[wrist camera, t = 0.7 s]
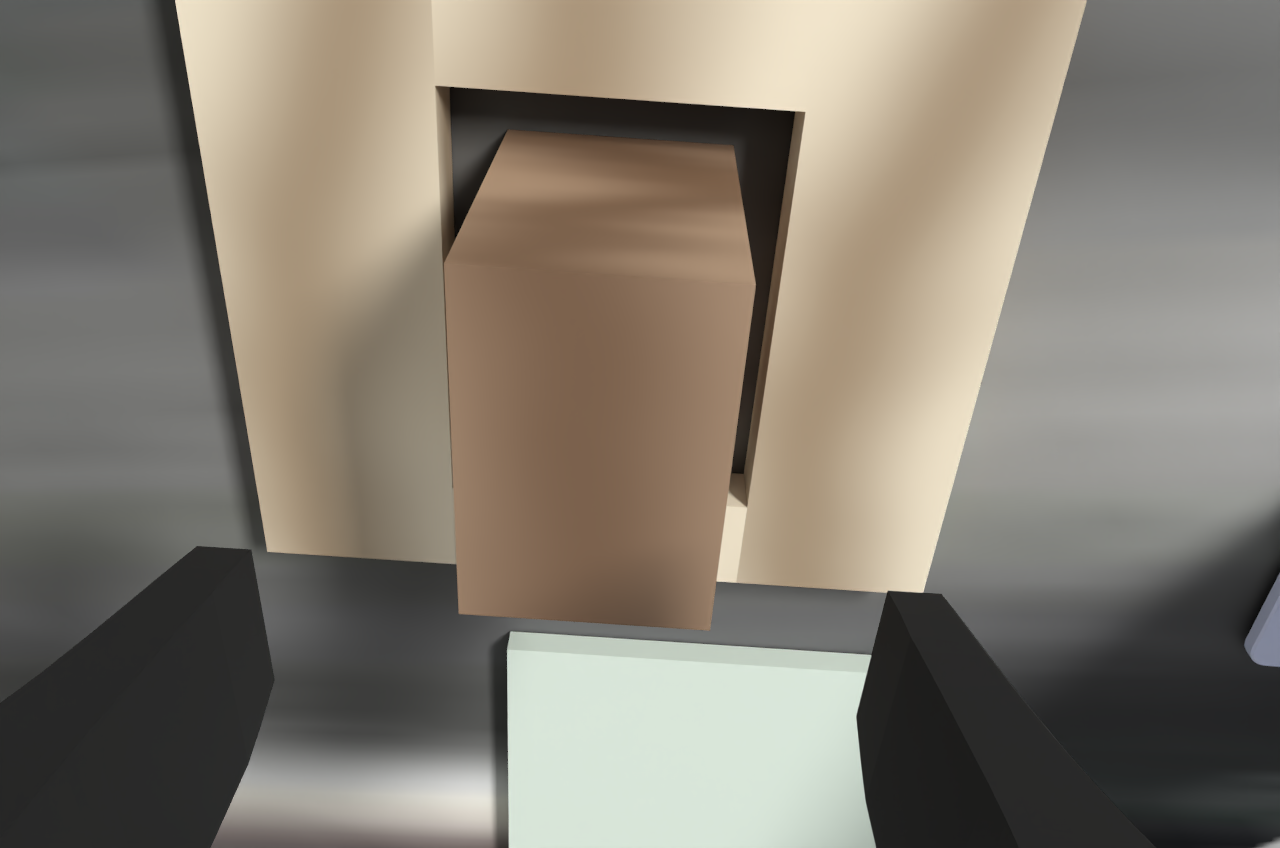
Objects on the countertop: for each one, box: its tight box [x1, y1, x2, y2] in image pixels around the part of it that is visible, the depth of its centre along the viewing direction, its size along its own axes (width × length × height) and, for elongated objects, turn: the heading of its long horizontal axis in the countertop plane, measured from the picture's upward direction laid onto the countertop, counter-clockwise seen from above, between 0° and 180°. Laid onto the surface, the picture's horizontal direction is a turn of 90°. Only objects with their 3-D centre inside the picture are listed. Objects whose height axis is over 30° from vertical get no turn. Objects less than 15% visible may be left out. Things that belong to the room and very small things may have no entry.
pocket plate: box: [175, 0, 1087, 593], centre depth 19 cm, size 14×12×1 cm
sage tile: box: [507, 631, 876, 848], centre depth 27 cm, size 10×10×1 cm
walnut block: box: [444, 129, 756, 631], centre depth 17 cm, size 4×6×6 cm, turn 176°
